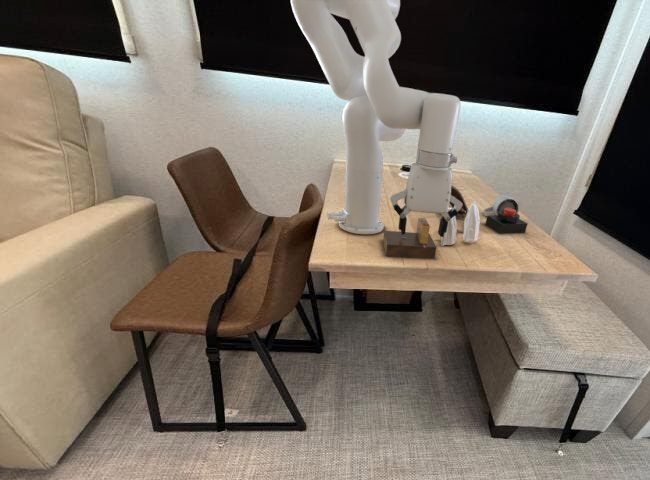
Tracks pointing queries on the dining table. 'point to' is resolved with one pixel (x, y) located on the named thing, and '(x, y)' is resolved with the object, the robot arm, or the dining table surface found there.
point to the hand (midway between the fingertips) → (421, 233)
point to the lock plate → (407, 245)
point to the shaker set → (469, 227)
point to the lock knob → (422, 230)
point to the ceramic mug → (502, 205)
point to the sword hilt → (459, 196)
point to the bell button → (509, 212)
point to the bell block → (506, 223)
